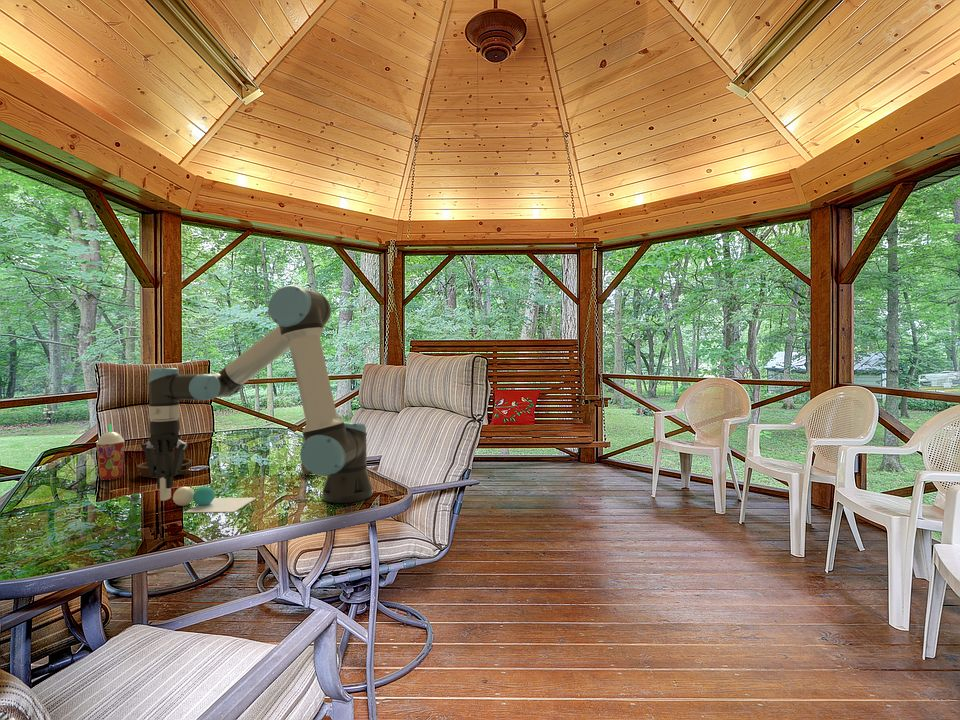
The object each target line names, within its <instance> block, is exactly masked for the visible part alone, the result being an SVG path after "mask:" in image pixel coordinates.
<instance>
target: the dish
mask: <svg viewBox="0 0 960 720" xmlns="http://www.w3.org/2000/svg"><path fill="white" fill-rule="evenodd" d="M192 463H193V459H191V458H190V459H189V458H183V462H182V466H181V470H180V473H179V474H177V475H179V476H181V475H182V476H185V475H187V473H189V470H190V466H191V464H192ZM136 468H137V469H138V471H139V473H140V475H141V476H142V477H143V478H144V477H150V478H152V477H155V476H151V475H150V472H149V468H148V464H147V461H145V462H142V463H140V464H139V463H138V464H137V465H136ZM184 474H185V475H184Z"/></svg>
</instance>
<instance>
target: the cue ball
mask: <svg viewBox="0 0 960 720" xmlns="http://www.w3.org/2000/svg"><path fill="white" fill-rule="evenodd" d="M194 493H195V490H194V489H193V488H192V487H189V486H180V487H179V488H177V489H176V490H175V491H174V493H173V496H172V500H173V502H174V503H175V504H176V506H177V505H178V506H182V507H184V506H189V505H190V504H191V503H192V502H193V501H194V498H193V496H194Z"/></svg>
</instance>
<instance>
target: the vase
mask: <svg viewBox="0 0 960 720" xmlns="http://www.w3.org/2000/svg"><path fill="white" fill-rule="evenodd" d="M300 469H301V472H302V473H303V475H304V474H307V475H309V474H313V473H311V472H309V471H308V470H307V469H306V468H305V467H304V465H303V464H302V461H301V463H300Z"/></svg>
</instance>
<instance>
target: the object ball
mask: <svg viewBox="0 0 960 720" xmlns="http://www.w3.org/2000/svg"><path fill="white" fill-rule="evenodd" d="M193 498H194V499H193V501H194V503H195V504H196V505H201V506H204V505H208V504H210V503H211V502H212V501H213V499H214V498H215V491H214V489H213V488H212V487H210V486H206V485H205V486H201V487H199V488H197V489H196V490H194V496H193Z"/></svg>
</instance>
